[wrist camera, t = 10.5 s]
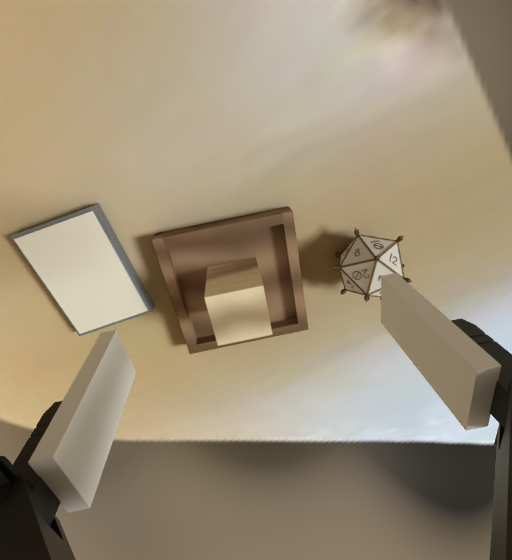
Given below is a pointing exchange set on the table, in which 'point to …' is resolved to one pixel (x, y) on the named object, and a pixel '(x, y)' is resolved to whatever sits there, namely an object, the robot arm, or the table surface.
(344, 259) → the game die
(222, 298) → the beech block
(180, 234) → the walnut tray
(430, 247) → the table surface
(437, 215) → the table surface
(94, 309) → the white grey flat slab
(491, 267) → the table surface
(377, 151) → the table surface
